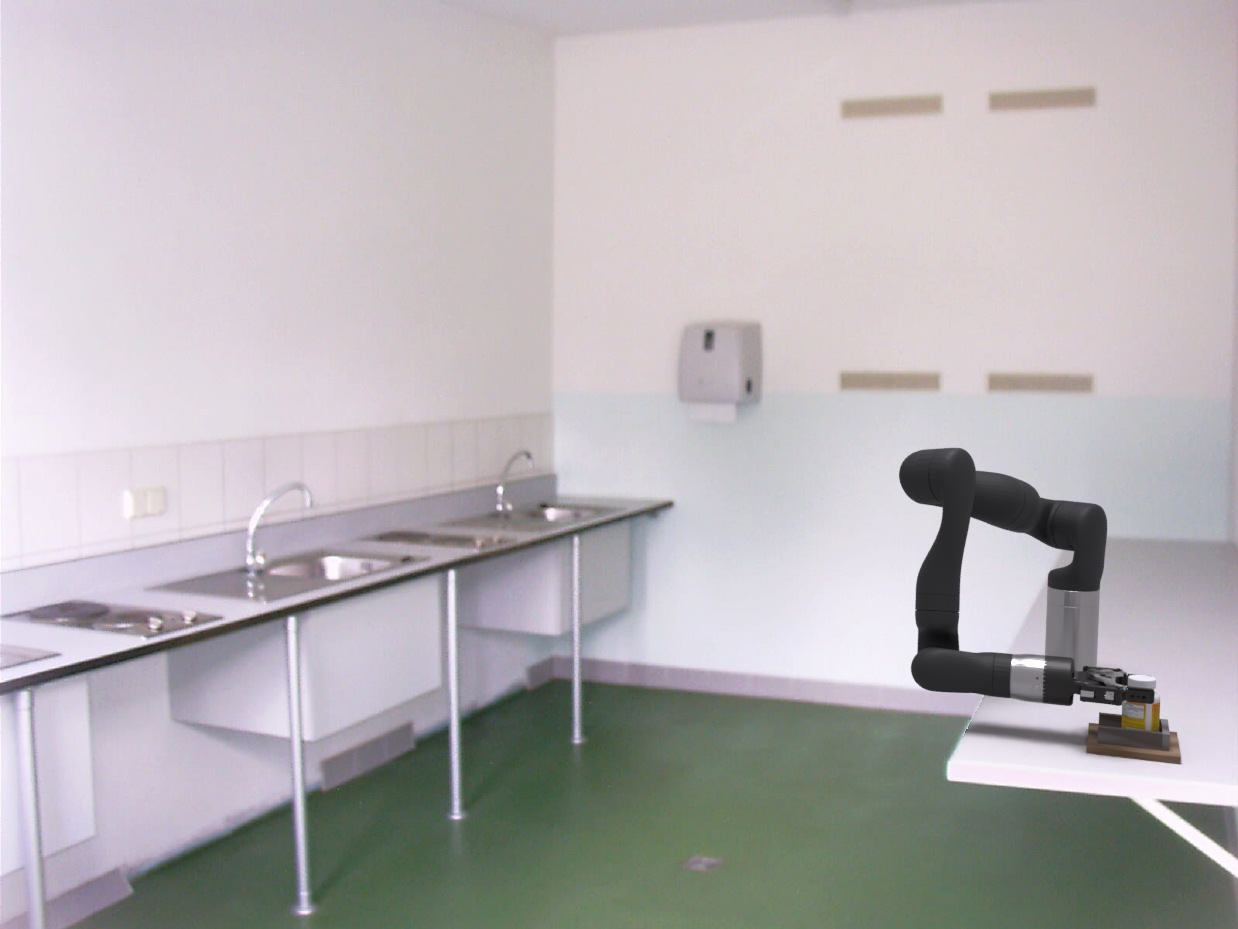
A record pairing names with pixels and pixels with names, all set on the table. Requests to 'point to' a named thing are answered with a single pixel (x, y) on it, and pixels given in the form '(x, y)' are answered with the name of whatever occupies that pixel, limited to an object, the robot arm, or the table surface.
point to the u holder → (1132, 740)
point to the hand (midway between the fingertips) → (1153, 690)
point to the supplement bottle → (1141, 707)
